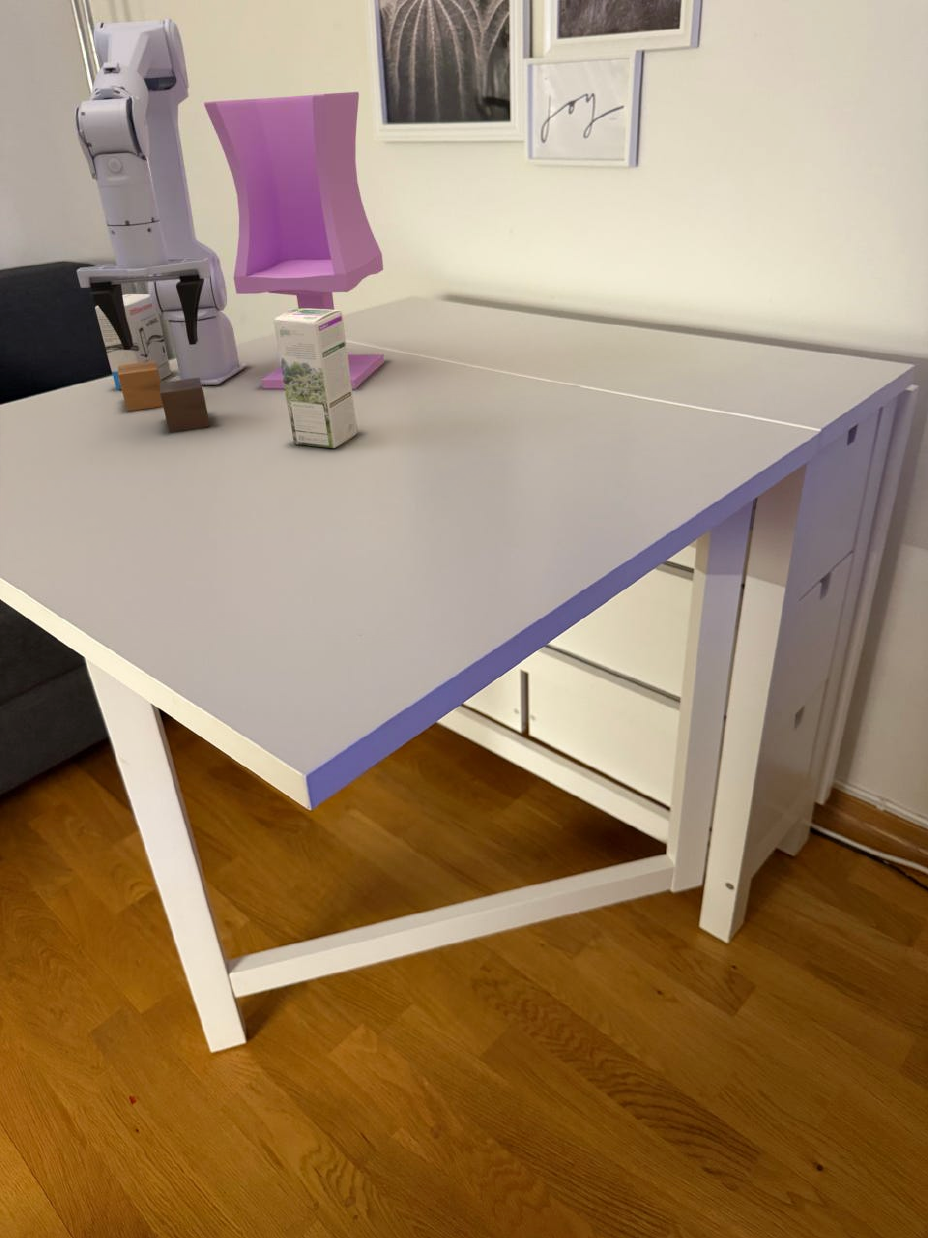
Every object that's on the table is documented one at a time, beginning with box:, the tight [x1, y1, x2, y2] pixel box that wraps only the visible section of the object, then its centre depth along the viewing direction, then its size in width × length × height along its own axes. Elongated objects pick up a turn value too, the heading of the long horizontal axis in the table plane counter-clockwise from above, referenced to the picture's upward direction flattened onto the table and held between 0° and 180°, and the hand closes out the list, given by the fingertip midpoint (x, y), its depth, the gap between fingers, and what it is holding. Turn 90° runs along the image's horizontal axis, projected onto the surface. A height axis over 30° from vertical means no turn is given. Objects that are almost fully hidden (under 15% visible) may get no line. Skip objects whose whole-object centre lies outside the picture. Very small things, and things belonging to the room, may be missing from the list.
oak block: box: [118, 361, 163, 412], centre depth 121 cm, size 5×5×5 cm
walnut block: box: [159, 378, 211, 434], centre depth 113 cm, size 5×5×5 cm
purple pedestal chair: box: [203, 91, 385, 390], centre depth 121 cm, size 16×16×35 cm
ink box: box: [94, 293, 172, 390], centre depth 130 cm, size 9×5×12 cm, turn 168°
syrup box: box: [273, 308, 358, 449], centre depth 102 cm, size 6×6×14 cm
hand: (161, 345), depth 108 cm, fingers open, 7 cm apart
